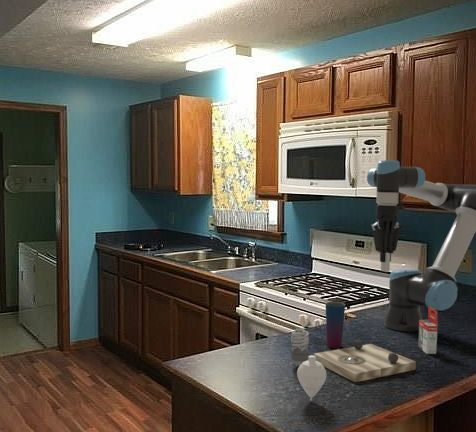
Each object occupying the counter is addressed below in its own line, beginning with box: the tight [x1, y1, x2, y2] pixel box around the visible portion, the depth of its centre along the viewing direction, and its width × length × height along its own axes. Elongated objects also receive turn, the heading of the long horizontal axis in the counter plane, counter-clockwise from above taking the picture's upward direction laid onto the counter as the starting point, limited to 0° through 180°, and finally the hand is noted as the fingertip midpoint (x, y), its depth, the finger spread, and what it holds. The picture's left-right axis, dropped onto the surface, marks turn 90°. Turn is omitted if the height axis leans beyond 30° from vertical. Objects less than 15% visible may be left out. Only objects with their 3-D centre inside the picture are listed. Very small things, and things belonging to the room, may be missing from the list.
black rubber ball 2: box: [388, 352, 399, 363], centre depth 164 cm, size 3×3×3 cm
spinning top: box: [296, 354, 327, 402], centre depth 141 cm, size 8×8×12 cm
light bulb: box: [290, 328, 310, 367], centre depth 166 cm, size 6×6×12 cm
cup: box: [325, 301, 346, 349], centre depth 188 cm, size 7×7×15 cm
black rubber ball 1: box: [353, 339, 364, 349], centre depth 177 cm, size 3×3×3 cm
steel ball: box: [346, 358, 356, 362], centre depth 166 cm, size 3×3×3 cm
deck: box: [313, 343, 417, 383], centre depth 169 cm, size 24×20×2 cm
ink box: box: [417, 307, 439, 355], centre depth 184 cm, size 4×8×15 cm, turn 2°
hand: (385, 271), depth 189 cm, fingers closed
